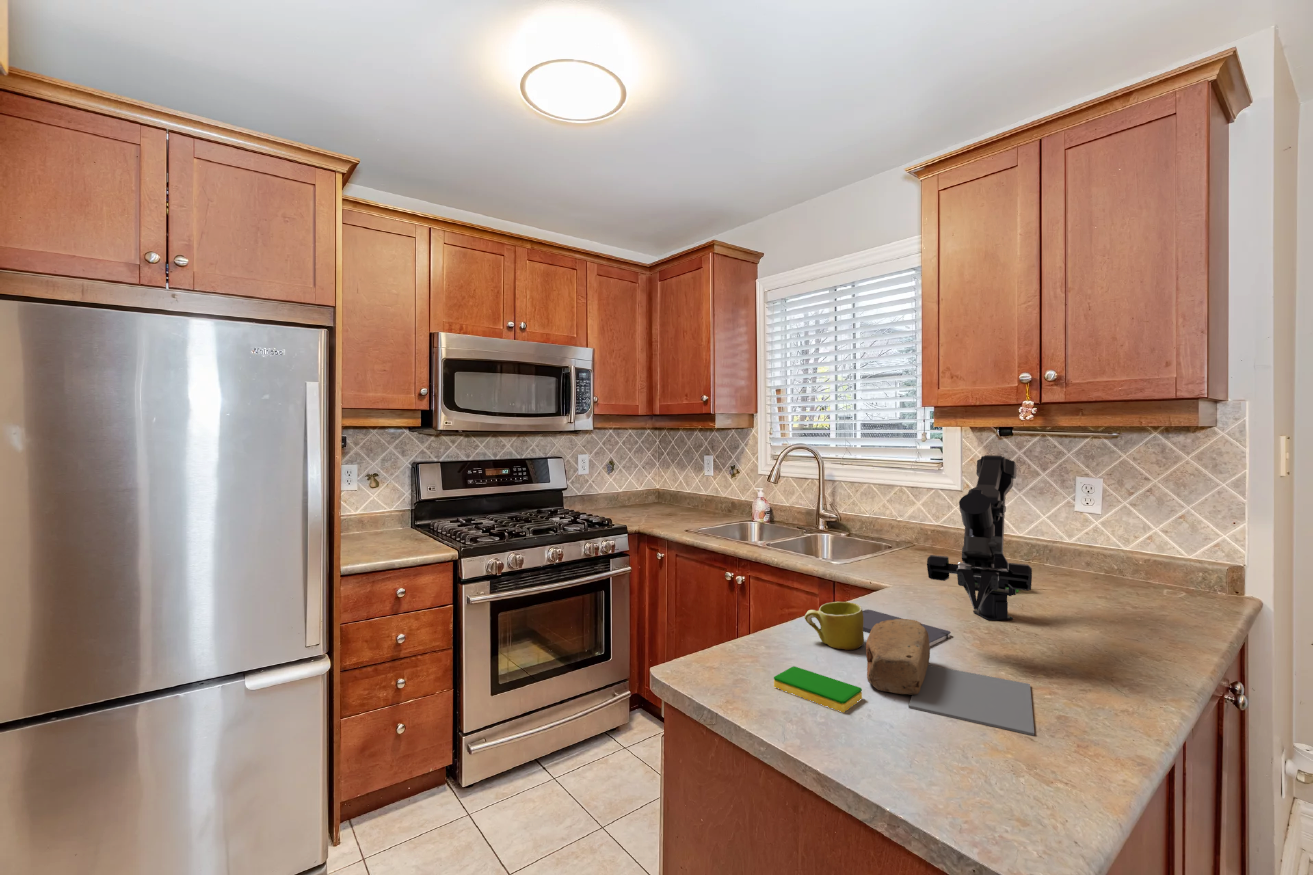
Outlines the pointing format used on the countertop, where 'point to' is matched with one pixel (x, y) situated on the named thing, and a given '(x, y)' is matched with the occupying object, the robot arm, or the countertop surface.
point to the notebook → (877, 617)
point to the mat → (976, 699)
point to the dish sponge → (818, 688)
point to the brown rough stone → (897, 656)
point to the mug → (839, 624)
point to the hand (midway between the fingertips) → (976, 608)
